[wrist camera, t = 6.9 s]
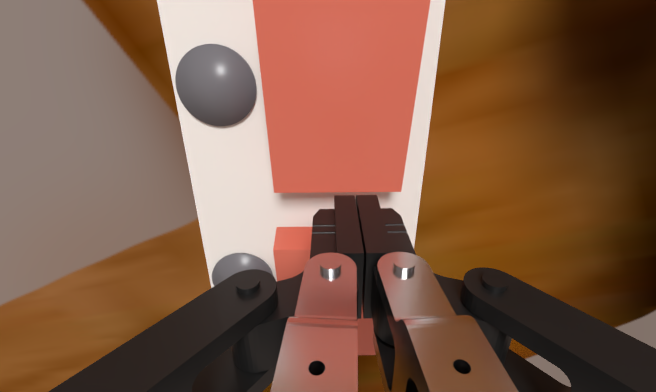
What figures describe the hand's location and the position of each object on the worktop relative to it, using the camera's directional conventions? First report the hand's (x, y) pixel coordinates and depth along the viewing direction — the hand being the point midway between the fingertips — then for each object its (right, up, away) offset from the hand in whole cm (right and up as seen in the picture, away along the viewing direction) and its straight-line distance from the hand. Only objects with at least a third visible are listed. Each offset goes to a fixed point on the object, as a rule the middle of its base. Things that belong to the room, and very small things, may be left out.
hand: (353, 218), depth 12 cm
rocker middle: (0, +5, +2) cm, 5 cm away
